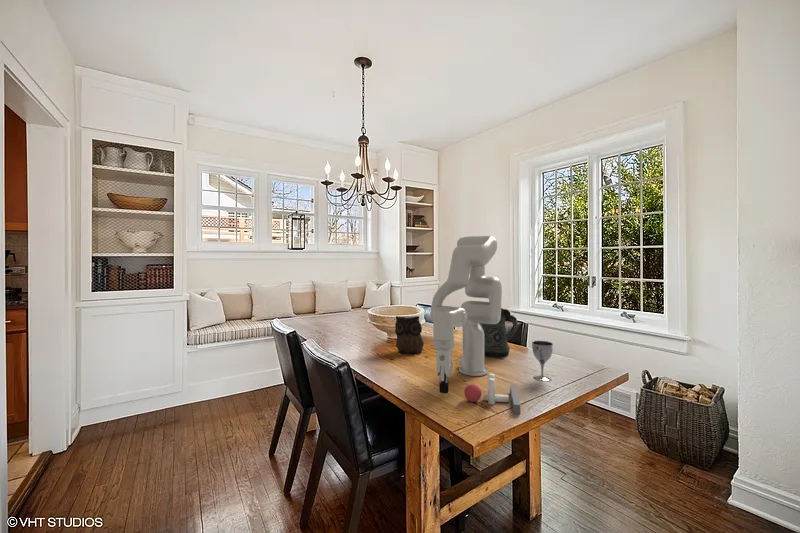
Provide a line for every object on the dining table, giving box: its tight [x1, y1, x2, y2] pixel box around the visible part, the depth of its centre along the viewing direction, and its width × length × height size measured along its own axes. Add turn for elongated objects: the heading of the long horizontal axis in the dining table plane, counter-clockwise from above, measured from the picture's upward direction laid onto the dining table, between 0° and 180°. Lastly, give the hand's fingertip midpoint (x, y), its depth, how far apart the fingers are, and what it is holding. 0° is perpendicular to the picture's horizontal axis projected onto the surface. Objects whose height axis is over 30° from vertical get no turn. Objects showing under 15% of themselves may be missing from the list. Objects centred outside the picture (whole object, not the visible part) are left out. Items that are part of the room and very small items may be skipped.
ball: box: [463, 383, 482, 403], centre depth 125 cm, size 6×6×6 cm
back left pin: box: [487, 373, 496, 380], centre depth 128 cm, size 2×2×8 cm
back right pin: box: [487, 378, 496, 406], centre depth 124 cm, size 2×2×8 cm
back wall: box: [509, 384, 521, 415], centre depth 124 cm, size 18×2×3 cm, turn 166°
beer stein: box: [481, 307, 519, 358], centre depth 185 cm, size 16×19×25 cm
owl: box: [394, 315, 425, 356], centre depth 188 cm, size 13×13×20 cm
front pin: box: [483, 392, 510, 404], centre depth 126 cm, size 2×2×8 cm
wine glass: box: [531, 340, 554, 382], centre depth 147 cm, size 8×8×15 cm
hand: (444, 392), depth 130 cm, fingers closed
